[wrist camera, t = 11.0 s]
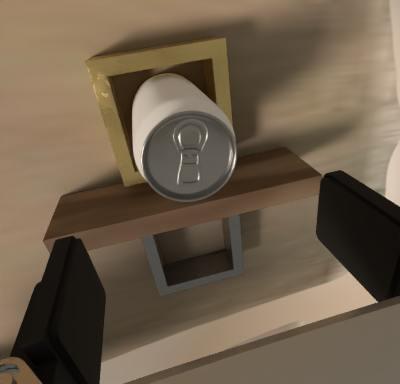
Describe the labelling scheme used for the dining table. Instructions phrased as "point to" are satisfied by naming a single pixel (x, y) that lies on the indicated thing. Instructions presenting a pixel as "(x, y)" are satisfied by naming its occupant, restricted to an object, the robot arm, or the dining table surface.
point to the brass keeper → (147, 59)
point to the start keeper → (197, 262)
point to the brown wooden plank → (180, 211)
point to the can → (181, 139)
